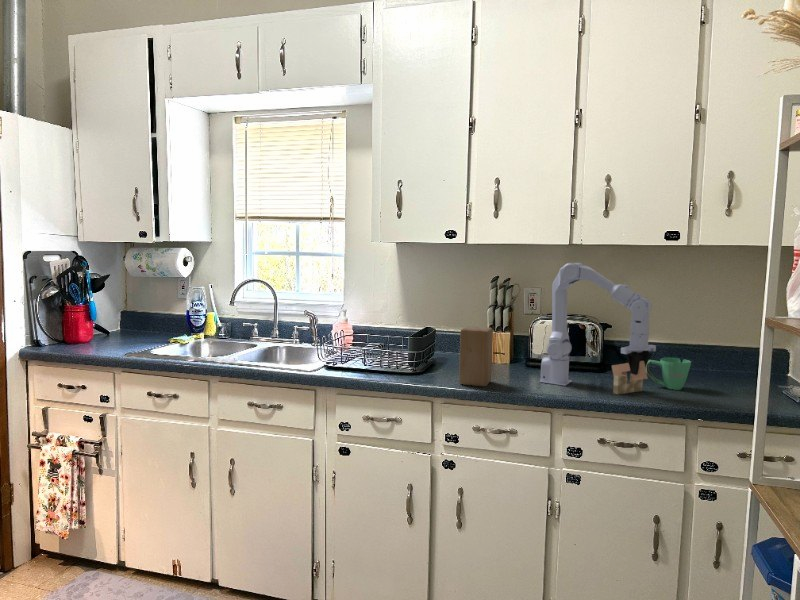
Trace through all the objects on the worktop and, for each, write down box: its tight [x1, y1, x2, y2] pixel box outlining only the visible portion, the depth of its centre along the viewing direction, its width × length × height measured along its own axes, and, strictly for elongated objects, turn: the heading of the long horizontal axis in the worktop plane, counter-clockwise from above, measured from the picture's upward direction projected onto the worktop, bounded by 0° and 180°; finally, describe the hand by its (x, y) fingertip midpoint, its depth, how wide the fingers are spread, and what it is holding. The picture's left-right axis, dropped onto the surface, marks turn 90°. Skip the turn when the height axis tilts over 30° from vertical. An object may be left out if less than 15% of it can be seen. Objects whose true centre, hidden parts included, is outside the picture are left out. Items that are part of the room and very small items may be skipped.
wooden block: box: [458, 325, 494, 388], centre depth 202 cm, size 10×10×20 cm
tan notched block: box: [612, 373, 644, 395], centre depth 193 cm, size 12×2×6 cm, turn 117°
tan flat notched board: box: [611, 361, 648, 382], centre depth 193 cm, size 12×2×6 cm, turn 27°
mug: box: [646, 357, 692, 391], centre depth 200 cm, size 15×10×10 cm
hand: (637, 373), depth 190 cm, fingers closed on tan flat notched board, 2 cm apart
